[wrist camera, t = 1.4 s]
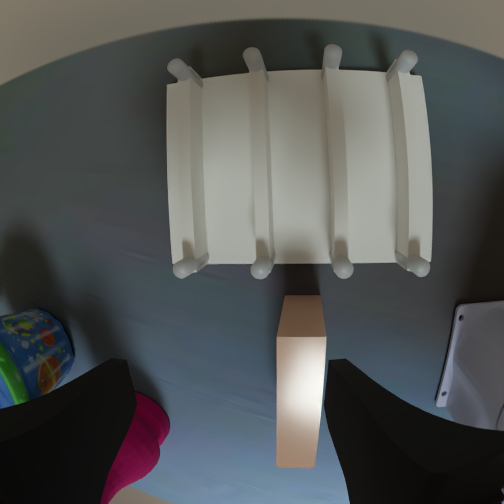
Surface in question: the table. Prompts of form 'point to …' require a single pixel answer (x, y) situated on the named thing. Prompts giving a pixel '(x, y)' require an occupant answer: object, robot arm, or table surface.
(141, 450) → the pepper mill
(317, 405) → the tile
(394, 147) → the dish rack
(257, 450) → the table surface
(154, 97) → the table surface
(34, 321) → the snack cup
